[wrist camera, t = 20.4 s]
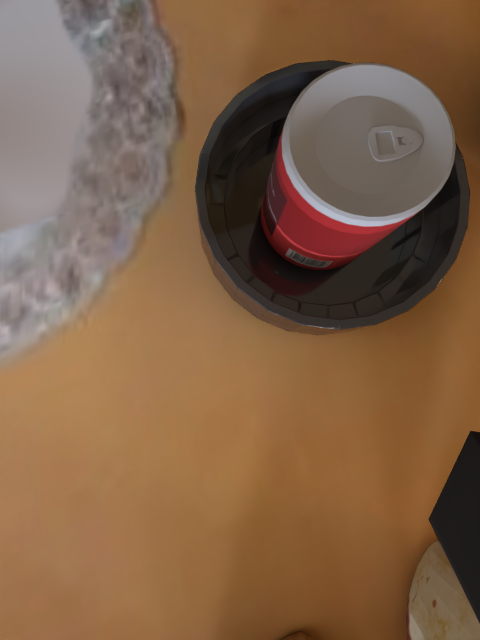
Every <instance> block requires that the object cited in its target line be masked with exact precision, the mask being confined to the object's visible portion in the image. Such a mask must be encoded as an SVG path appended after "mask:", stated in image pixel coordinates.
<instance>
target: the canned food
mask: <svg viewBox="0 0 480 640" xmlns="http://www.w3.org/2000/svg"><path fill="white" fill-rule="evenodd" d="M455 148H456V144H455V133H454V129H453V125H452V122H451V119H450V116H449V114H448V112H447V110H446V108H445V106H444V105H443V103H442V101H441V100H440V99H439V98H438V96H437V95H436V94H435V93H434V92H433V90H432V89H431V88H429V87H428V86H427V85H426V84H425V83H423V82H422V81H421V80H420V79H418V78H416V77H415V76H413V75H411V74H410V73H408V72H406V71H404V70H401V69H398V68H395V67H392V66H389V65H384V64H378V63H354V64H349V65H344V66H340V67H338V68H335V69H333V70H330V71H328V72H326V73H324V74H322V75H321V76H319V77H318V78H316V79H315V80H313V81H312V82H311V83H310V84H309V85H308V86H307V87H306V88H305V89H304V90H303V91H302V92H301V93H300V95H299V96H298V98H297V99H296V101H295V102H294V104H293V106H292V108H291V110H290V111H289V114H288V116H287V119H286V121H285V124H284V127H283V130H282V134H281V136H280V139H279V143H278V146H277V150H276V154H275V157H274V161H273V164H272V168H271V172H270V175H269V179H268V182H267V186H266V190H265V193H264V197H263V200H262V206H261V223H262V227H263V231H264V233H265V235H266V237H267V240H268V242H269V243H270V244H271V246H272V247H273V248H274V250H275V251H276V252H277V253H278V254H280V255H281V256H282V257H283V258H284V259H286V260H287V261H289V262H291V263H293V264H294V265H297V266H300V267H303V268H306V269H313V270H329V269H333V268H338V267H341V266H343V265H345V264H348V263H350V262H351V261H353V260H354V259H356V258H357V257H358V256H360V255H361V254H363V253H364V252H365V251H367V250H368V249H369V248H371V247H372V246H373V245H375V244H376V243H378V242H379V241H380V240H382V239H383V238H384V237H386V236H387V235H388V234H390V233H391V232H393V231H394V230H395V229H397V228H398V227H399V226H401V225H402V224H403V223H405V222H406V221H407V220H409V219H410V218H412V217H413V216H414V215H416V214H417V213H418V212H419V211H420V210H422V209H423V208H424V207H425V206H426V205H427V204H428V203H429V202H430V201H431V200H432V199H433V198H434V197H435V196H436V194H437V193H438V192H439V191H440V190H441V189H442V187H443V185H444V184H445V182H446V180H447V179H448V177H449V175H450V172H451V169H452V166H453V163H454V157H455Z"/></svg>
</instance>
